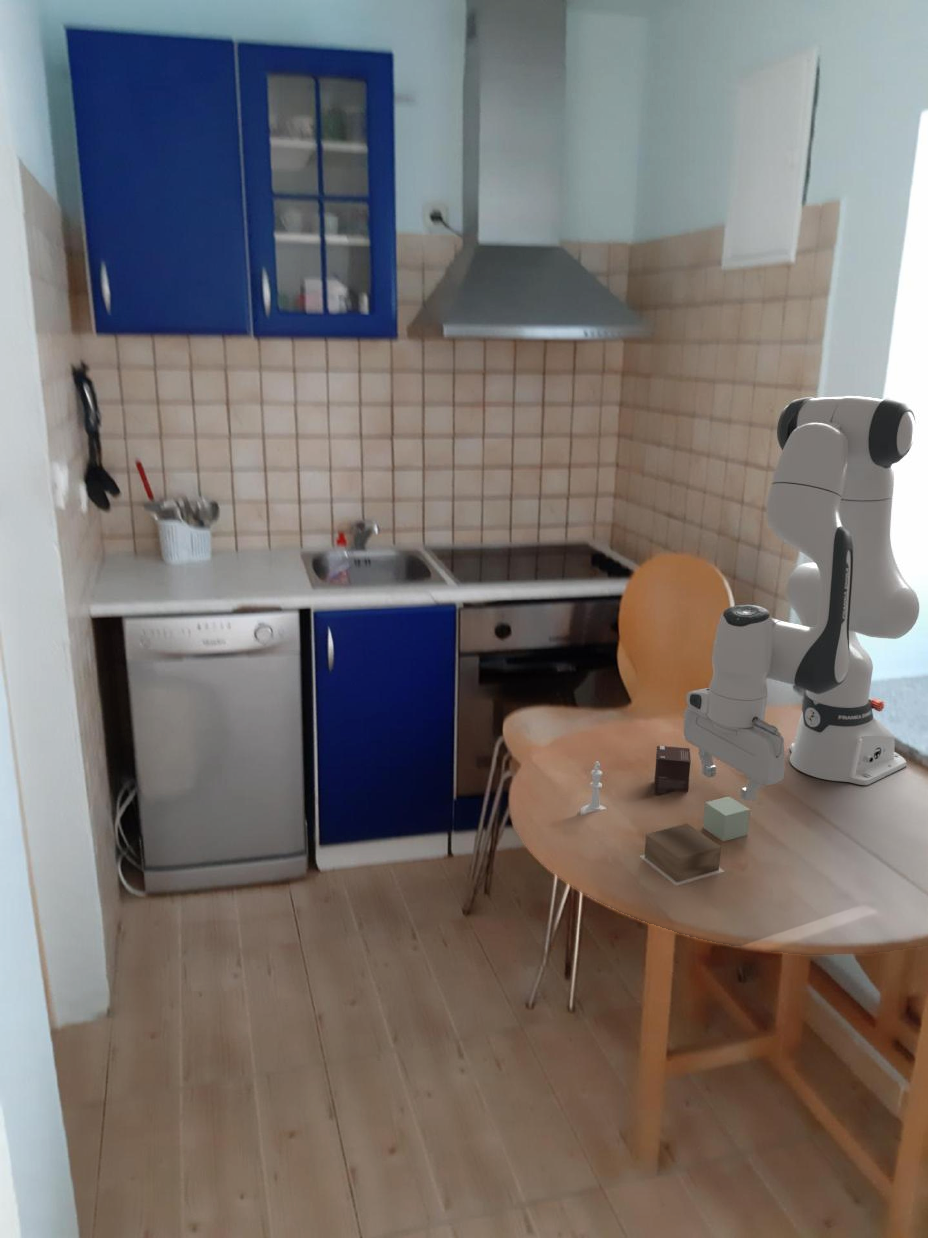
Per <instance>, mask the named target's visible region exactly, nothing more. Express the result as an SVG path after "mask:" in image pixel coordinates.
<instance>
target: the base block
mask: <svg viewBox="0 0 928 1238" xmlns="http://www.w3.org/2000/svg"><path fill="white" fill-rule="evenodd" d="M644 846H645V847H644V855H645V858H646V859H648V860H649V861H650V862H651V863H653V864H654V865H655V866H657V867H658V868H659V869H660V870H662V871H663V872H664V873H665V874H667V875H668V876H669V877H671V878H672V879H673V880H674V881H676V882H680V881H684V880H687V879H690V878H694V877H697V876H701V875H704V874H707V873H711V872H714V871H717V870H719V867H720V864H721V863H720V862H721V861H720V860H721V852H722V851H721V849H722V846H721V845H719V844H718V843H716V842H715V841H713V840H712V839H710V838H709V837H708V836H706V835H704V834H703V833H702V832H700V831H699V830H697V829H696V828H694V827H693V826H692V825H691V824H689V823H683V824H679V825H676V826H672V827H669V828H664V829H661V830H658V831H652V832H650V833H649V832H648V833H646V834H645V845H644Z"/></svg>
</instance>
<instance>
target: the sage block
mask: <svg viewBox="0 0 928 1238" xmlns="http://www.w3.org/2000/svg"><path fill="white" fill-rule="evenodd" d="M750 810H751V809H750V808H748V807H747V806H745V805H744V804H742V803H741V802H739V801H737V800H736V799H734V798H732V797H731V796H724V797H722V798H721V797H720V798H717V799H713V800H709V801H705V802H704V813H703V814H704V815H703V826H702V828H703V829H704V830H705V831H707V832H709V833H710V834H712V835H713V836H715V837H716V838H717V839H719V840H721V841H722V842H727V841H730V840H733V839H737V838H741V837H744V836H747V835H748V830H749V829H748V828H749V823H750V822H749V820H750Z"/></svg>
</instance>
